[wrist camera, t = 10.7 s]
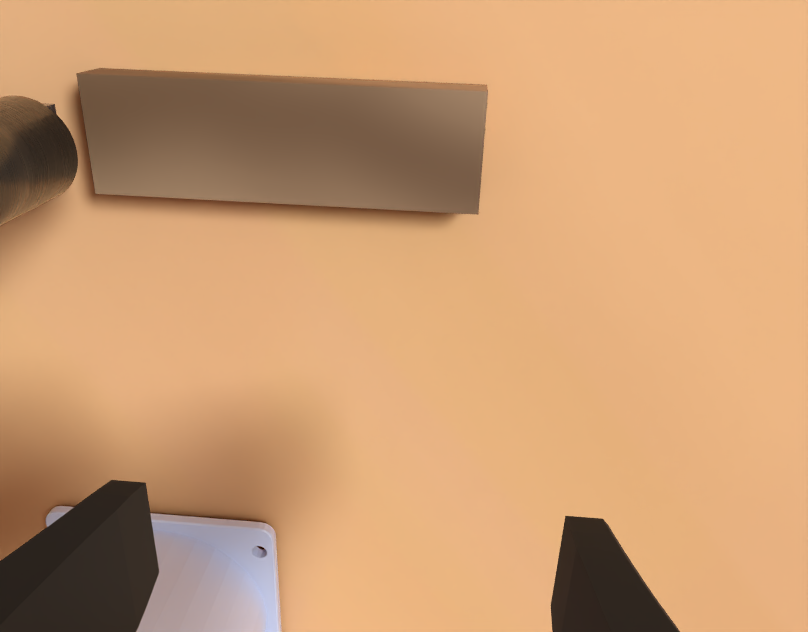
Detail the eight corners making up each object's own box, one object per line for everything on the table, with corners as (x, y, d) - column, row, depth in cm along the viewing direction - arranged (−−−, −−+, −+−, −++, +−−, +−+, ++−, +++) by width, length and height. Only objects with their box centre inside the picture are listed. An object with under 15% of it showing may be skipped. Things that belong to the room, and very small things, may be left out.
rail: (477, 201, 19) (478, 214, 18) (116, 182, 20) (95, 193, 19) (486, 85, 18) (487, 91, 17) (99, 68, 18) (76, 73, 17)
